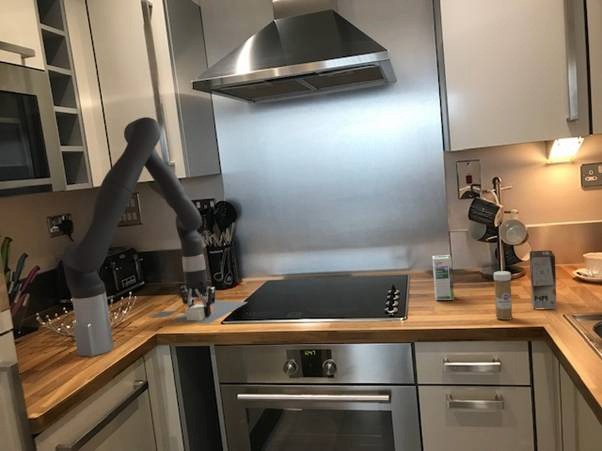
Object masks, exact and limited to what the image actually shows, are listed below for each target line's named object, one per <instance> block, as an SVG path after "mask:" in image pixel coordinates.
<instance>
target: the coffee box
mask: <svg viewBox="0 0 602 451" xmlns="http://www.w3.org/2000/svg"><path fill="white" fill-rule="evenodd" d="M529 268H530V269H529V270H530V275H529V276H530V297H531V304H533V305H532V308H533V309H534V308H544V309H545V308H546V309H556V310H557V284H556V281H557V280H556V276H557V275H556V256H555V254H554V253H553V251H552V250H531V251H529Z"/></svg>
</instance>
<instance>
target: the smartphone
mask: <svg viewBox="0 0 602 451" xmlns="http://www.w3.org/2000/svg"><path fill="white" fill-rule="evenodd" d="M175 313H177V310H165V311H164V310H163V311H162V310H161V311H159V312H158V313H156V314H154V315H153V316H152V317H151V316H150V319H157V318H165V317H170V316H173V315H174V314H175Z"/></svg>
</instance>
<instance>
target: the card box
mask: <svg viewBox="0 0 602 451" xmlns="http://www.w3.org/2000/svg"><path fill="white" fill-rule="evenodd" d="M210 309H211V314H210V315H212V314H213V313H214V310H213V304H211V305H210ZM185 314H186V318H187V320H198V321H200V320H202V319H204V318H206V317H205V313H204V305H203V303H202V302H198V303H196V304H195V305H194V306H192V307H190V308H189V307H188V308H185Z"/></svg>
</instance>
